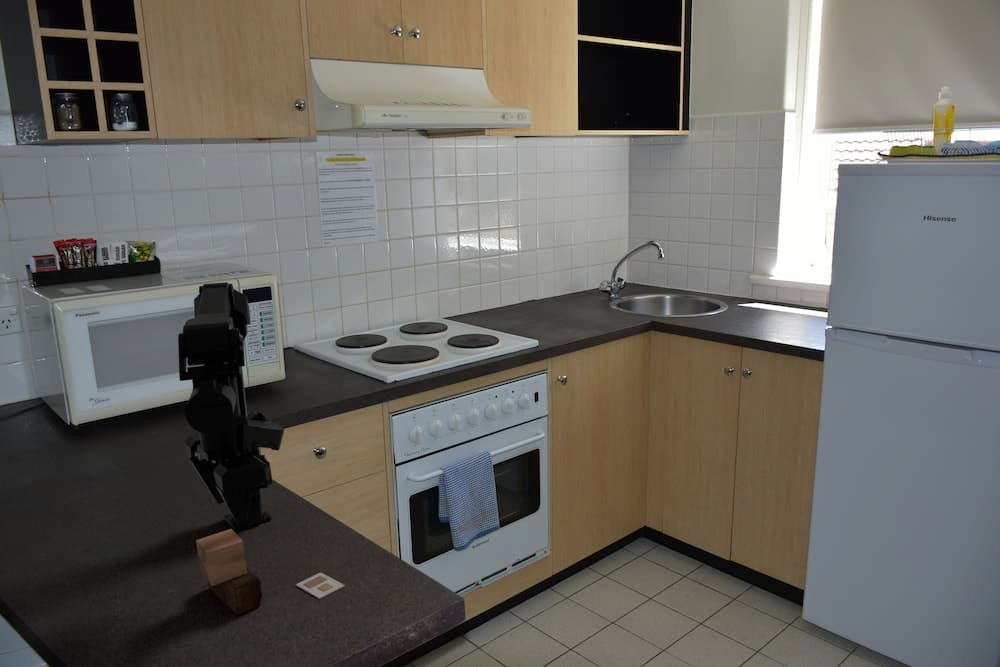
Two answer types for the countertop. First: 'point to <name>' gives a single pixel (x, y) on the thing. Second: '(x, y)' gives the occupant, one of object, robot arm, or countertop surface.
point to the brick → (240, 592)
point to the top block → (221, 557)
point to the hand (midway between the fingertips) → (231, 513)
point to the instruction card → (320, 585)
